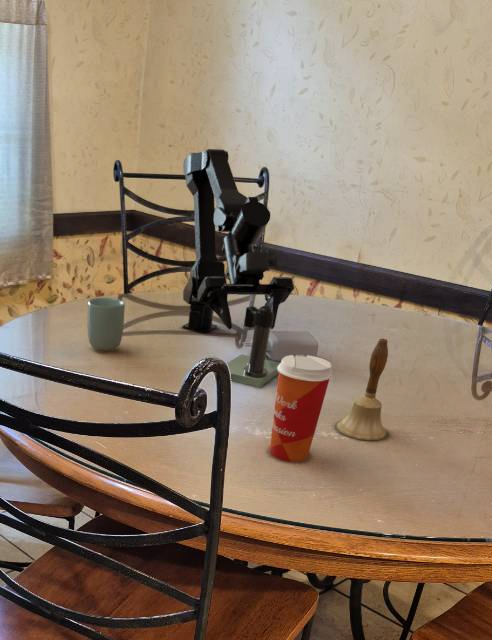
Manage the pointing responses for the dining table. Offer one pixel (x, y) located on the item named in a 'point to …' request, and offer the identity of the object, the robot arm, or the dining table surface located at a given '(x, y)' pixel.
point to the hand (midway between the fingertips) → (251, 328)
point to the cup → (105, 323)
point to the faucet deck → (249, 380)
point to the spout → (258, 317)
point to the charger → (289, 344)
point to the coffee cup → (298, 405)
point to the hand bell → (368, 403)
